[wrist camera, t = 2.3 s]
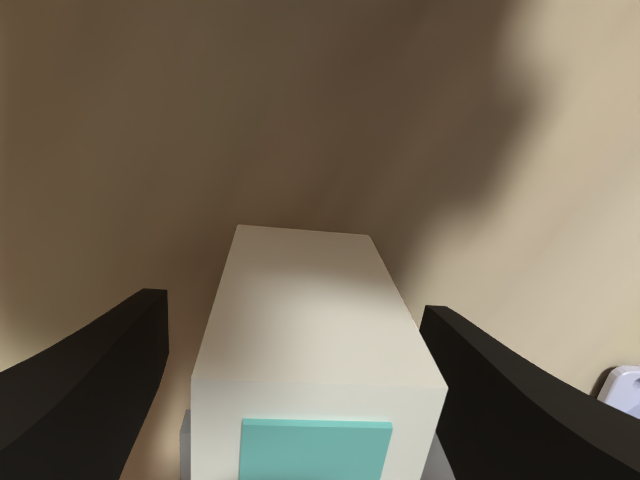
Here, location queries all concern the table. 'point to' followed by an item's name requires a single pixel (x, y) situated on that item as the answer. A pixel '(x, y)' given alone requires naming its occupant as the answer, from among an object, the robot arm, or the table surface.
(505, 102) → the table surface
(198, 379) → the block
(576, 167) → the table surface
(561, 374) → the table surface
